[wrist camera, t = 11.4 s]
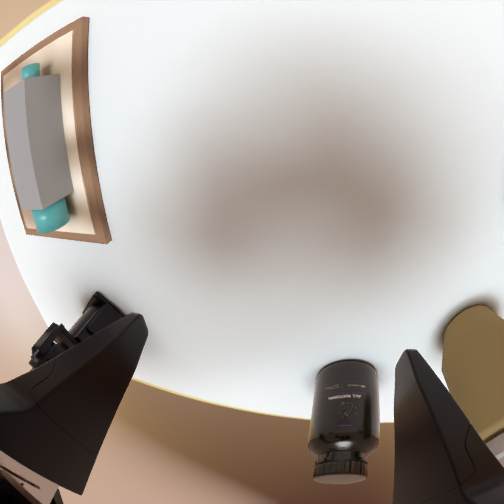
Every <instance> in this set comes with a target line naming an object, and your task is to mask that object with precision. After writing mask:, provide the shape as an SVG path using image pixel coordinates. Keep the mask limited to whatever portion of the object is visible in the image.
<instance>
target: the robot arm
mask: <svg viewBox="0 0 504 504" xmlns="http://www.w3.org/2000/svg"><path fill="white" fill-rule="evenodd" d="M147 336H148V329H147V326H146V323H145V320H144V318H143V316H142V315H141V314H137V313H130V314H128V315H126V316H125V317H124V316H123V315H122V314H121V313H120V312H119V311H117V310H116V309H115V308H114V307H113V306H112V305H111V304H110V303H109V302H108V301H107V300H106V299H105V298H103V297H102V296H101V295H100V294H99V293H98V292H95V293H94V294H93V296H92V298H91V299H90V301H89V303H88V304H87V306H86V308H85V310H84V311H83V315H82V316H81V317H80V318H79V320H78V321H77V322H76V323H75V324H74V326H73V327H72V328H71V329H70V330H69V332H68V331H67V330H66V329H65V328H64V325H63V324H62V323H61V324H60V325H59V326H58V325H57V324H55V323H52V324H51V325H50V327H49V328H48V329H47V330H46V331H45V333H44V334H43V335H42V336H41V337H40V338H39V340H38V341H37V342H36V343H35V344H34V346H33V347H32V356H31V358H32V359H31V360H30V362H29V364H30V365H31V366H32V367H33V368H32V369H31V370H30V372H28V373H25V374H23V375H21V376H19V377H17V378H15V379H13V380H11V381H8V382H6V383H2V384H0V504H63V501H62V498H61V495H60V492H59V489H58V486H61V487H64V488H66V489H68V490H70V491H72V492H74V493H77V494H79V495H82V494H83V491H84V489H85V486H86V483H87V481H88V478H89V476H90V473H91V470H92V468H93V465H94V463H95V460H96V458H97V455H98V453H99V450H100V447H101V445H102V443H103V441H104V438H105V436H106V434H107V431H108V429H109V427H110V424H111V422H112V420H113V418H114V415H115V413H116V411H117V409H118V406H119V404H120V402H121V400H122V398H123V396H124V393H125V391H126V389H127V387H128V385H129V382H130V380H131V378H132V376H133V374H134V372H135V370H136V367H137V364H138V362H139V359H140V356H141V353H142V350H143V347H144V345H145V342H146V339H147ZM53 341H55V342H56V343H57V344H55V343H54V342H53ZM394 429H395V470H394V490H393V503H392V504H504V467H503V466H502V464H501V463H500V462H499V461H498V459H497V458H496V457H495V455H494V454H493V453H492V452H491V450H490V449H489V448H488V447H487V445H486V444H485V443H484V441H483V440H482V439H481V437H480V436H479V434H478V433H477V431H476V430H475V428H474V427H473V425H472V424H471V423H470V421H469V420H468V418H467V417H466V415H465V414H464V412H463V411H462V409H461V408H460V407H459V405H458V404H457V402H456V401H455V400H454V398H453V397H452V395H451V394H450V393H449V391H448V390H447V389H446V387H445V386H444V385H443V383H442V382H441V380H440V379H439V378H438V376H437V375H436V374H435V373H434V371H433V370H432V369H431V367H430V366H429V365H428V363H427V362H426V361H425V360H424V358H423V357H422V356H421V354H420V353H419V352H418V351H417V350H415V349H406V350H405V351H404V352H403V354H402V355H401V357H400V359H399V361H398V363H397V365H396V368H395V395H394Z"/></svg>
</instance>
